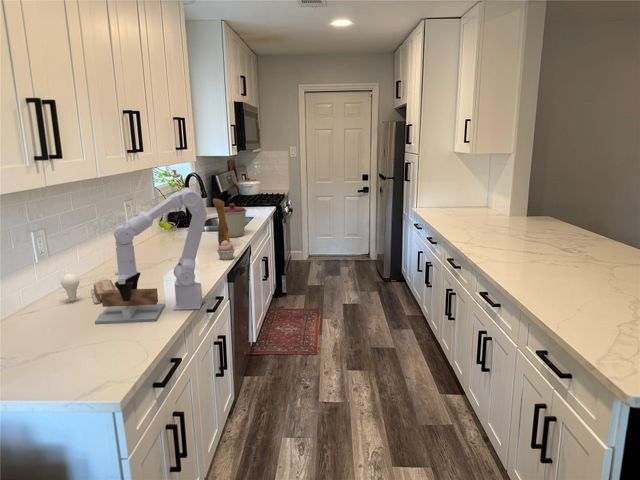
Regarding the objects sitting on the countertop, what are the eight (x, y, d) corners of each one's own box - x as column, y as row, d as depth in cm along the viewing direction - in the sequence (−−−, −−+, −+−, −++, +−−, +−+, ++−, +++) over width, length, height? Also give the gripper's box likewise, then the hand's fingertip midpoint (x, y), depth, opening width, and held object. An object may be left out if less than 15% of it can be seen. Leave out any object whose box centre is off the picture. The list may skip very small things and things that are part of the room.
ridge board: (164, 305, 164) (164, 295, 163) (156, 321, 150) (155, 310, 149) (108, 308, 161) (107, 298, 160) (95, 324, 148) (93, 313, 147)
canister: (233, 240, 267) (232, 206, 262) (212, 236, 276) (211, 203, 271) (253, 235, 281) (252, 202, 277) (233, 231, 291) (231, 200, 286)
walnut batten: (158, 301, 158) (157, 288, 156) (156, 304, 155) (155, 291, 153) (105, 303, 155) (104, 290, 154) (102, 306, 152) (101, 293, 151)
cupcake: (237, 256, 231) (236, 238, 229) (232, 261, 222) (231, 242, 220) (220, 256, 232) (219, 237, 230) (214, 260, 223) (213, 241, 221)
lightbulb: (78, 303, 165) (74, 276, 163) (61, 304, 164) (57, 277, 162) (84, 298, 171) (80, 271, 169) (67, 298, 170) (63, 272, 168)
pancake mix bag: (220, 251, 240) (217, 201, 234) (214, 244, 258) (212, 196, 251) (232, 250, 243) (230, 200, 236) (226, 243, 260) (224, 196, 254)
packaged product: (121, 289, 169) (92, 294, 164) (122, 301, 170) (94, 306, 165) (116, 276, 184) (89, 280, 179) (117, 287, 185) (90, 291, 180)
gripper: (120, 254, 158) (124, 290, 161) (106, 266, 144) (111, 305, 147) (140, 254, 158) (144, 289, 162) (129, 265, 145) (133, 304, 148)
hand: (129, 296), depth 154 cm, fingers open, 7 cm apart
